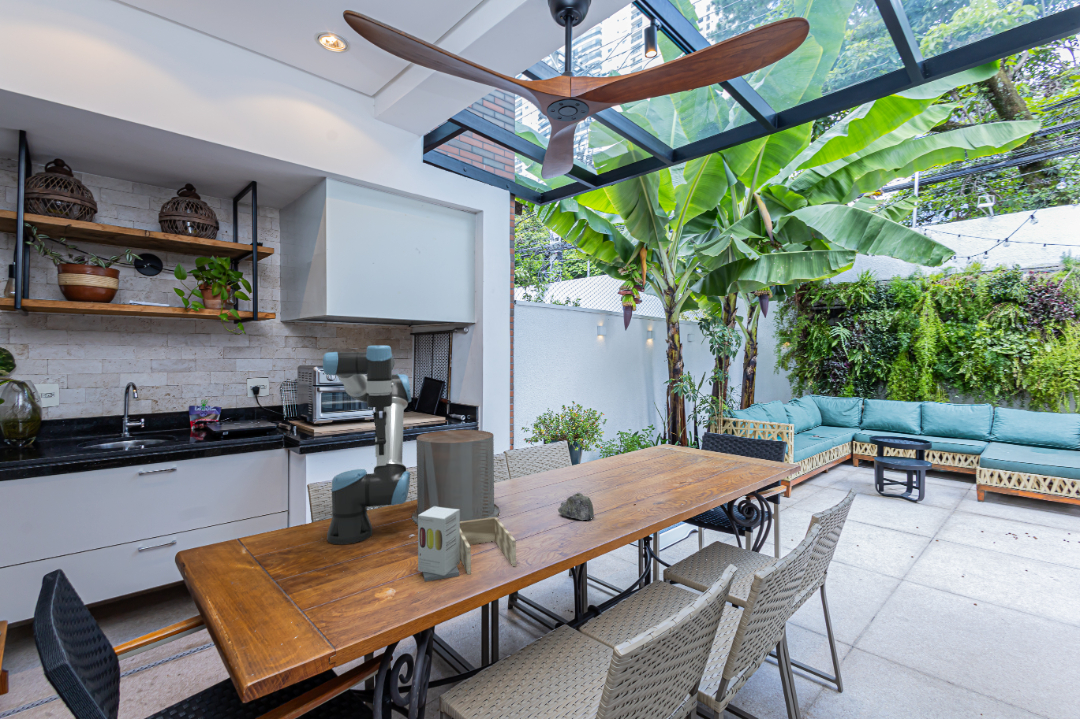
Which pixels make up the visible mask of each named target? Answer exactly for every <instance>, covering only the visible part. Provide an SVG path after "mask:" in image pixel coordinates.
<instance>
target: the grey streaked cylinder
mask: <svg viewBox="0 0 1080 719" xmlns="http://www.w3.org/2000/svg"><path fill="white" fill-rule="evenodd" d="M494 440H495V439H494V433H493V432H490V431H487V430H479V429H447V430H436V431H431V432H426V433H422V434H419V435H417V436H416V495H417V496H416V498H417V501H416V505H417V506H416V507H417V508H416V509H415V510H414V511H413V512H412V515H411V520H413V521H412V523H413V522H414V523H415V524H417V525H418V515H419V514H421V513H423V512H425V511H426V510H428V509H430V508H432V507H434V506H436V507H443V508H451V509H459V510H460V521H468V520H476V519H484V518H491V517H498V518H499V516H500V515H499V513H500V507H499V506H498V505H497V504H495V469H494V468H495V464H494V463H495V460H494V459H495V456H494V453H495V452H494V451H495V450H494V448H495V447H494ZM498 515H499V516H498ZM414 523H413V524H414ZM415 524H414V525H415ZM417 525H416V526H417Z"/></svg>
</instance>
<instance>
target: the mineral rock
mask: <svg viewBox="0 0 1080 719" xmlns="http://www.w3.org/2000/svg"><path fill="white" fill-rule="evenodd" d="M557 511H558V514H561V515H562V516H564V517H567V518H571V519H576V520H580V521H583V520H589V519H590V520H592V519H593V518H594V515H595V514H594V505H593V501H592V500H591V498H590V497H589V496H588V495H586V496H585V495H583V493H580V492H577V493H575V494H572V496H569V497H567V499H566V501H563V502H561V503H560V507H559V508H557ZM592 517H593V518H592ZM591 518H592V519H591ZM590 520H589V521H590Z"/></svg>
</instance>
